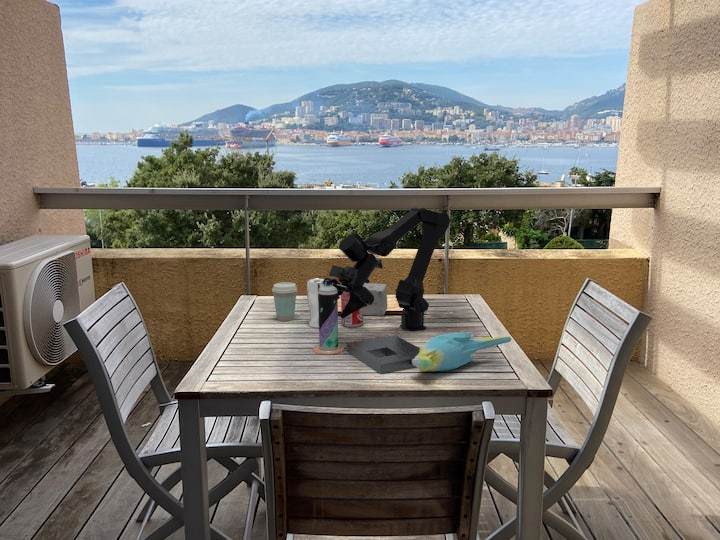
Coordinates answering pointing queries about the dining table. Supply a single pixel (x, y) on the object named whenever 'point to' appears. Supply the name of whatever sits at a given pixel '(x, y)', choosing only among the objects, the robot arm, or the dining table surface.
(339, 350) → the terracotta coaster
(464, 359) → the decorative bird
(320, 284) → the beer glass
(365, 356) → the square hole plate
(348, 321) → the soda can
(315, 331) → the dining table surface
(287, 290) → the coffee cup
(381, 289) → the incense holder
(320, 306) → the spray can
